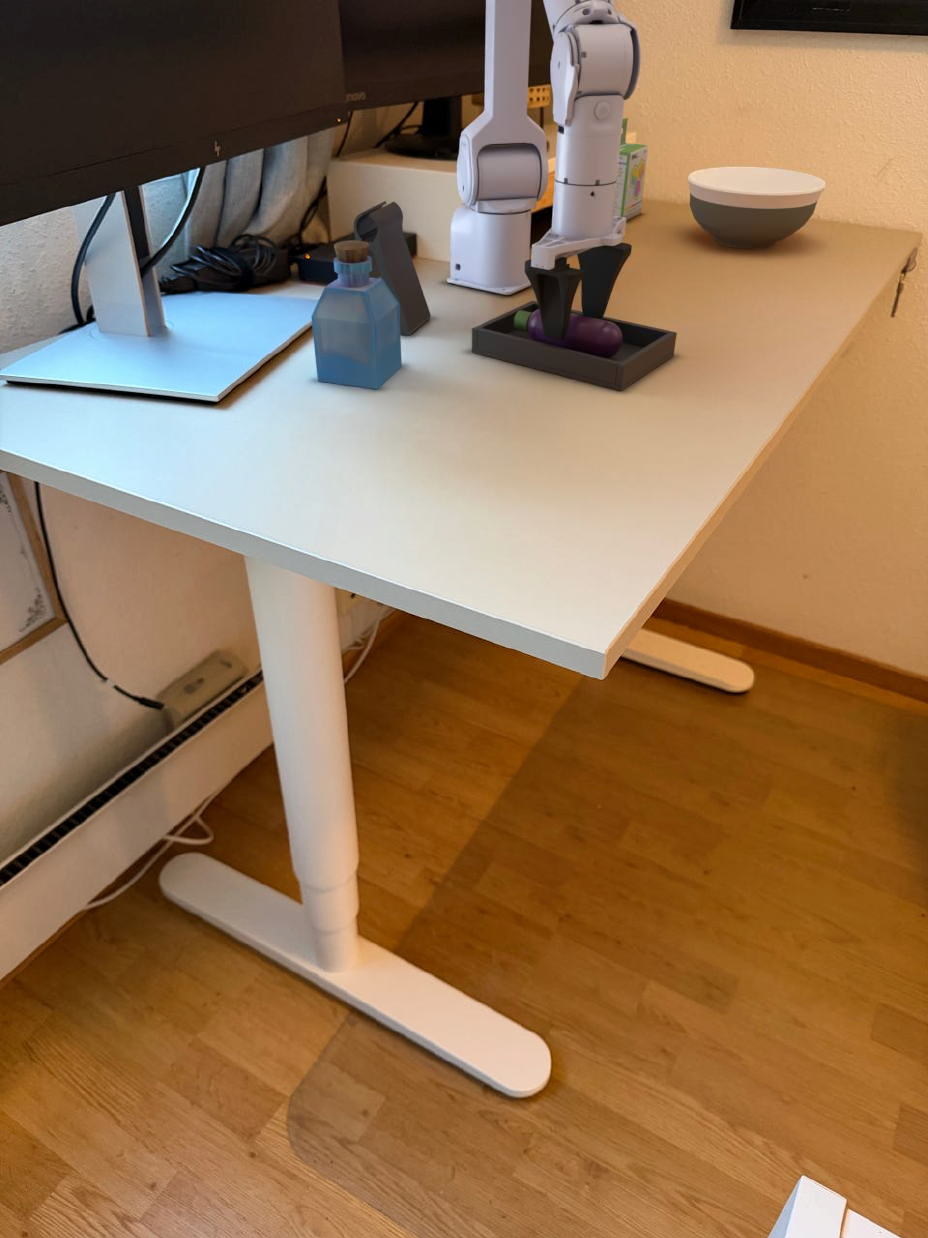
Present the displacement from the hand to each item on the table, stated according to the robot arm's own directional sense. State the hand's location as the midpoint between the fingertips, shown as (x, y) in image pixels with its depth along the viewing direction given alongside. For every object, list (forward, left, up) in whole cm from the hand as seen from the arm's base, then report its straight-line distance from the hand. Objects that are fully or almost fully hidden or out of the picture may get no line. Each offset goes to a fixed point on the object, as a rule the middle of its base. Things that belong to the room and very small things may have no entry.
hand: (574, 326), depth 90 cm
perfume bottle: (-14, -17, -3) cm, 22 cm away
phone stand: (-22, -4, -3) cm, 23 cm away
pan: (0, 0, -3) cm, 3 cm away
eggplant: (0, 0, -2) cm, 2 cm away
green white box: (-25, +57, -3) cm, 62 cm away
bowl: (-3, +54, -3) cm, 55 cm away
